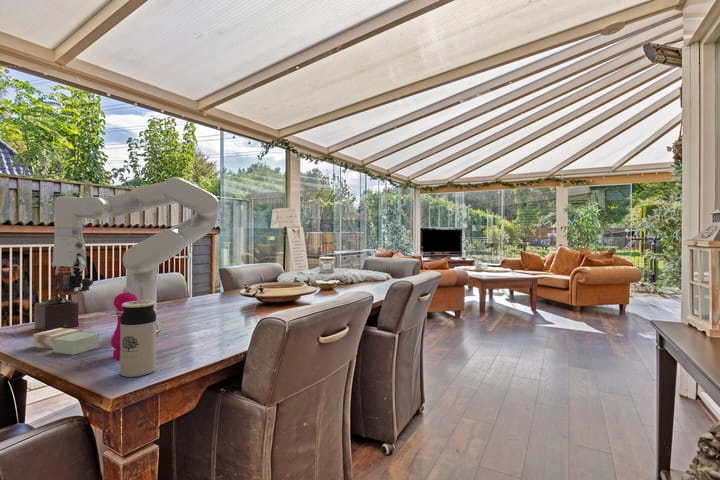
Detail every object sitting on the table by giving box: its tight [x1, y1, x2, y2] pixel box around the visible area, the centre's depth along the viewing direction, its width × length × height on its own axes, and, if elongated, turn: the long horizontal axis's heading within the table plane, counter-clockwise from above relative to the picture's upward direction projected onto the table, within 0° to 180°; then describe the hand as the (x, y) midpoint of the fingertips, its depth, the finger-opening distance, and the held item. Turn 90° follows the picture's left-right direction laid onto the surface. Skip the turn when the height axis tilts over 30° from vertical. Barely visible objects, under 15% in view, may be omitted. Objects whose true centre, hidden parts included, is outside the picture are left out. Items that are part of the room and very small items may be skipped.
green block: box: [52, 331, 100, 356], centre depth 115 cm, size 8×8×4 cm
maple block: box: [33, 328, 80, 350], centre depth 120 cm, size 8×8×4 cm
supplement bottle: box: [57, 265, 80, 296], centre depth 126 cm, size 6×6×11 cm
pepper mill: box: [110, 287, 138, 360], centre depth 110 cm, size 7×7×20 cm
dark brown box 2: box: [33, 277, 94, 332], centre depth 143 cm, size 16×11×18 cm
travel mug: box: [119, 300, 157, 378], centre depth 97 cm, size 8×8×18 cm
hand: (68, 286), depth 126 cm, fingers closed on supplement bottle, 6 cm apart
